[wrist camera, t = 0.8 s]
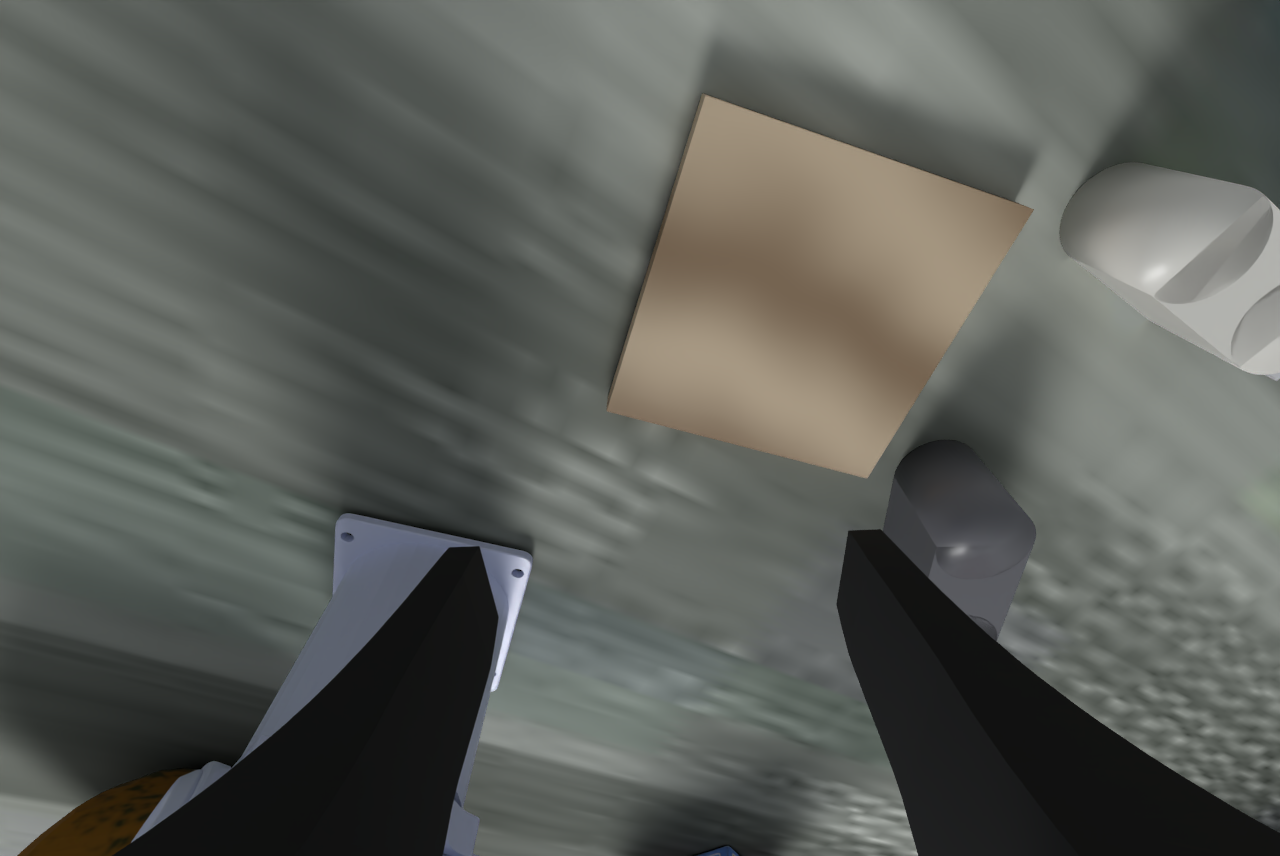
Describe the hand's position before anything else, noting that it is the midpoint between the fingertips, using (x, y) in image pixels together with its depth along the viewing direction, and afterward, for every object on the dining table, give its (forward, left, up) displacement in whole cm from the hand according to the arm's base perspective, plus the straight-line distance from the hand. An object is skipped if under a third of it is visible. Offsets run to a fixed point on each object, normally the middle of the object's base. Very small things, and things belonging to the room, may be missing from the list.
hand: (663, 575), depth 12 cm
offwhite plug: (+8, -14, -10) cm, 19 cm away
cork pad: (+3, -4, -10) cm, 11 cm away
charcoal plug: (-5, -13, -10) cm, 18 cm away
